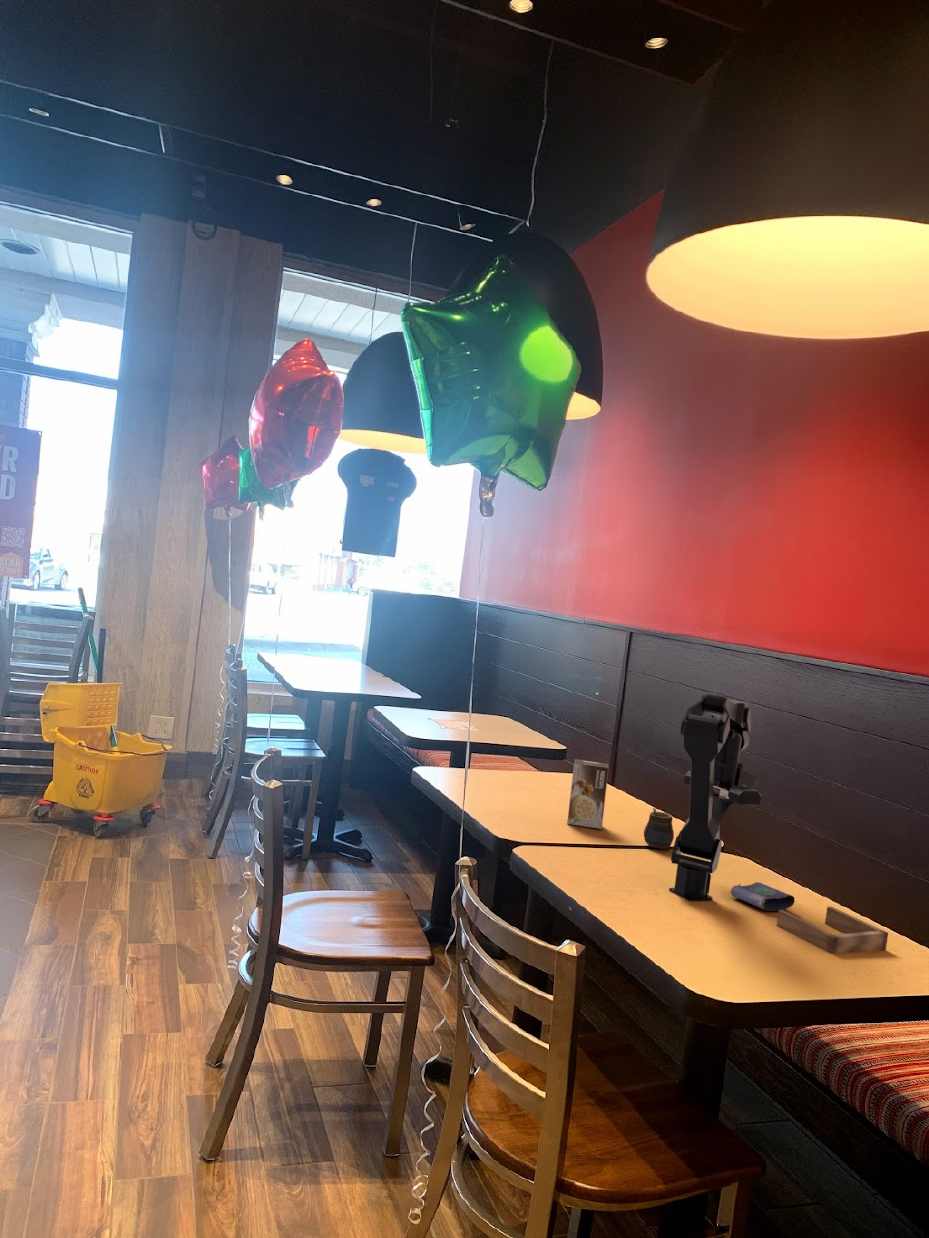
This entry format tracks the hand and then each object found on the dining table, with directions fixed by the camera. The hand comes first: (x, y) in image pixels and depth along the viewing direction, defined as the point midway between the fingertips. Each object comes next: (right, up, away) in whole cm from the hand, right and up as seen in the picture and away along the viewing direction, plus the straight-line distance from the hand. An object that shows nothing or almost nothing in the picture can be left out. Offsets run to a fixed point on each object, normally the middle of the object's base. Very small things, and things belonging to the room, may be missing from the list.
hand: (716, 825), depth 203 cm
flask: (+8, -15, -17) cm, 24 cm away
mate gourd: (-8, -10, +22) cm, 26 cm away
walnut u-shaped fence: (+13, -15, -29) cm, 35 cm away
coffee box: (-25, -8, +36) cm, 44 cm away
